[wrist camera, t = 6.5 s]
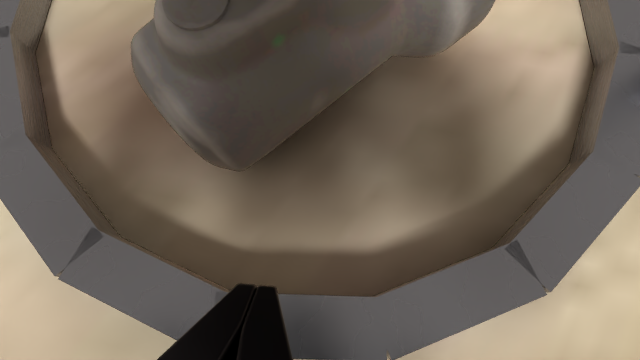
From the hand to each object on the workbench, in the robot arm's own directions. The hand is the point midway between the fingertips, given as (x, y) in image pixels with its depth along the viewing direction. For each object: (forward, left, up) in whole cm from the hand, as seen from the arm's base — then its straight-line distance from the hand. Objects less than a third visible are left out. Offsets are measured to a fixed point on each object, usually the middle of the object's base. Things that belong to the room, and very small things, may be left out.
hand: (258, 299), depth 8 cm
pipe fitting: (+7, -7, -6) cm, 12 cm away
